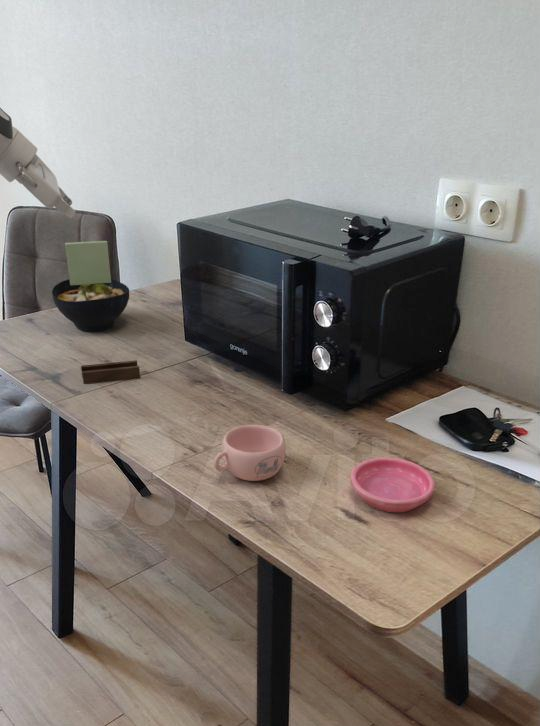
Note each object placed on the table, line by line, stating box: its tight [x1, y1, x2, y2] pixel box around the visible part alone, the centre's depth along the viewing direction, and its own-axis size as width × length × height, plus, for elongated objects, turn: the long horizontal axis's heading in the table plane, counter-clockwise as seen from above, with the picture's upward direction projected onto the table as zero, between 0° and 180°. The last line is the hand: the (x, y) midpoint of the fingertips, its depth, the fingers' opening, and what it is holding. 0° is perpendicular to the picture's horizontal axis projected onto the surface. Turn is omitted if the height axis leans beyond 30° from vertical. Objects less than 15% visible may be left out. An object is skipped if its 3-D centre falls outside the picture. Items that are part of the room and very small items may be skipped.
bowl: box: [51, 278, 130, 333], centre depth 161 cm, size 17×17×10 cm
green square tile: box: [64, 240, 112, 285], centre depth 156 cm, size 9×1×9 cm, turn 107°
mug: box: [213, 424, 287, 482], centre depth 109 cm, size 12×10×6 cm
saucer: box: [350, 456, 436, 513], centre depth 106 cm, size 12×12×3 cm
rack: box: [80, 359, 141, 385], centre depth 139 cm, size 11×4×2 cm, turn 107°
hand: (71, 209), depth 148 cm, fingers open, 8 cm apart
